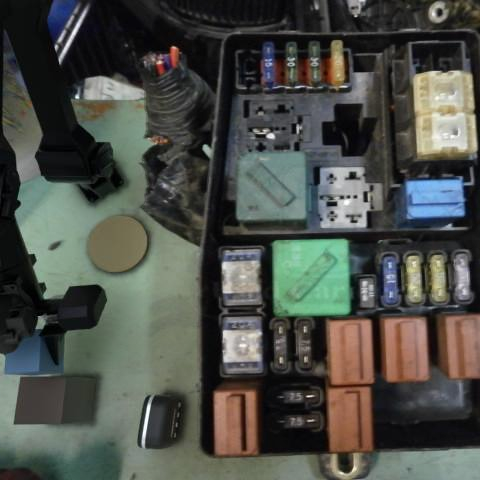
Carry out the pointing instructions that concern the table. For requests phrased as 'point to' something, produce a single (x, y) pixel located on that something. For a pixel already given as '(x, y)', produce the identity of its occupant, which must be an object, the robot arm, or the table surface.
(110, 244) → the tan disc
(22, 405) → the block
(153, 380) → the table surface
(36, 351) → the relay
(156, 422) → the battery charger
